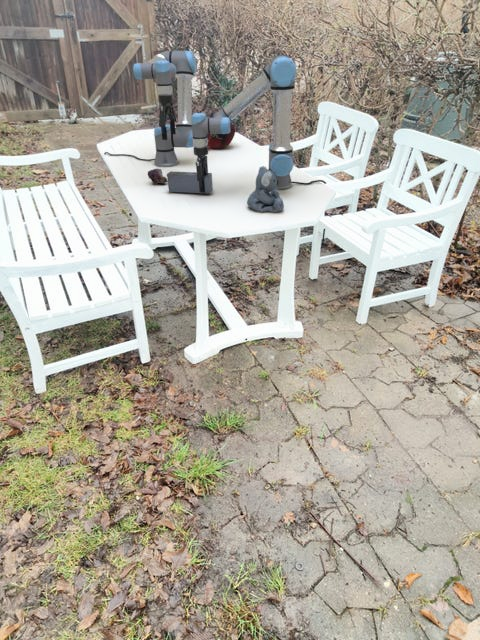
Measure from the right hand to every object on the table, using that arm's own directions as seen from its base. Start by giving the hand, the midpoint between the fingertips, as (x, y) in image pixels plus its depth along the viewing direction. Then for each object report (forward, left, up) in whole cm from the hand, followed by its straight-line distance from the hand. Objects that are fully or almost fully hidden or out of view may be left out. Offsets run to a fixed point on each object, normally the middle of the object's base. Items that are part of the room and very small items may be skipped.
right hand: (203, 190), depth 244 cm
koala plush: (-24, +30, -2) cm, 39 cm away
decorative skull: (-35, -97, -2) cm, 103 cm away
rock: (+21, -27, -2) cm, 34 cm away
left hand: (+12, -27, +23) cm, 37 cm away
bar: (+6, -4, -1) cm, 8 cm away
